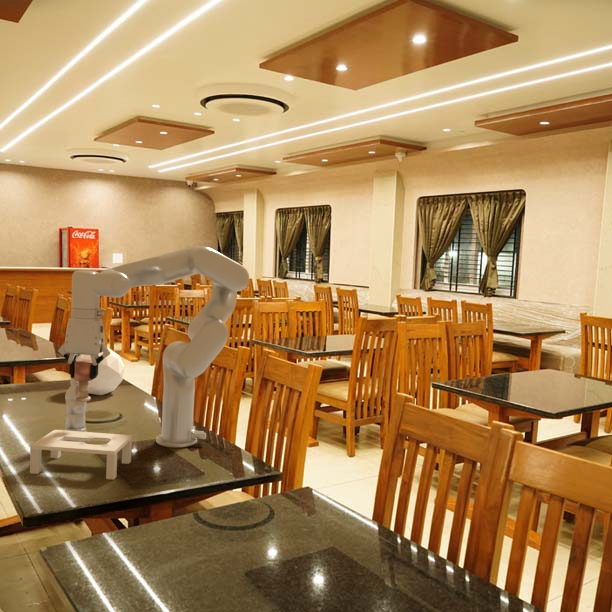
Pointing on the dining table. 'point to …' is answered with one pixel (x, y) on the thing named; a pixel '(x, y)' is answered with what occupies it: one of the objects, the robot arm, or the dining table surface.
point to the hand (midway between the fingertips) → (83, 376)
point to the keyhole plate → (82, 448)
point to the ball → (105, 373)
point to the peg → (82, 379)
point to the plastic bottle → (74, 410)
